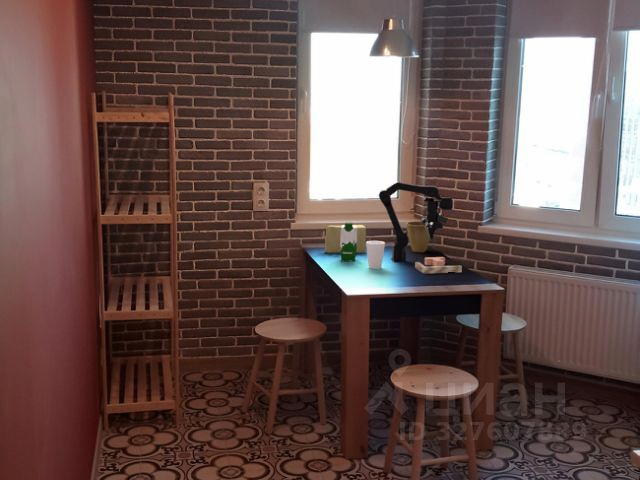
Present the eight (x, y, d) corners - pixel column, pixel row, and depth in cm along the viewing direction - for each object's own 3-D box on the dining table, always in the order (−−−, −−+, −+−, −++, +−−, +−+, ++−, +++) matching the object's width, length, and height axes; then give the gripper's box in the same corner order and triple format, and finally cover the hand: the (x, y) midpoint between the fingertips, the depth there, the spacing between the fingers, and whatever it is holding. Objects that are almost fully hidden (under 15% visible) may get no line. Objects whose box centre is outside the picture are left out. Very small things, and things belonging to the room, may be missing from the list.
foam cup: (386, 266, 397) (387, 241, 394) (380, 270, 388) (381, 244, 386) (369, 264, 401) (370, 240, 398) (362, 268, 392) (363, 243, 390)
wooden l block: (423, 273, 382) (423, 267, 381) (414, 267, 394) (415, 262, 394) (461, 272, 386) (461, 266, 385) (452, 266, 398) (452, 261, 398)
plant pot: (400, 249, 442) (401, 222, 439) (423, 247, 448) (424, 220, 445) (414, 254, 428) (415, 226, 425) (437, 252, 434) (438, 224, 432)
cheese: (326, 254, 427) (327, 227, 424) (323, 250, 437) (323, 224, 434) (365, 253, 431) (366, 226, 428) (361, 249, 440) (362, 223, 438)
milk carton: (339, 261, 409) (340, 223, 405) (340, 257, 418) (341, 221, 414) (356, 261, 408) (356, 224, 405) (357, 258, 417) (357, 221, 413)
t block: (430, 268, 394) (431, 261, 394) (424, 264, 404) (424, 257, 404) (449, 267, 396) (449, 260, 396) (442, 263, 406) (443, 257, 405)
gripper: (453, 212, 398) (451, 242, 401) (440, 207, 416) (439, 235, 419) (432, 212, 396) (431, 242, 399) (420, 207, 414) (419, 236, 417)
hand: (431, 239), depth 408 cm, fingers closed
